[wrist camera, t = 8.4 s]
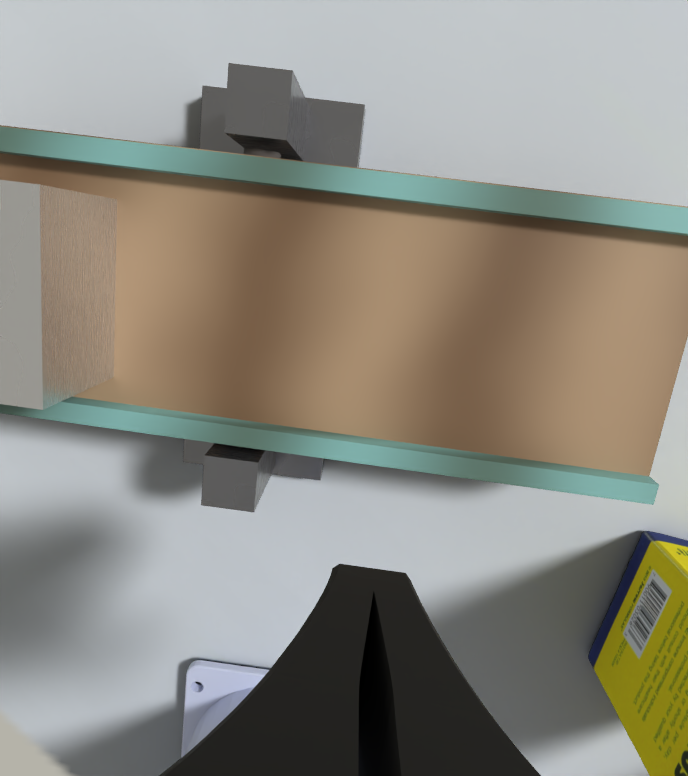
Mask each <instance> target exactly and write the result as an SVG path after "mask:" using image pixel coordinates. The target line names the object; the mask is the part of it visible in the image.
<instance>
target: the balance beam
mask: <svg viewBox="0 0 688 776" xmlns="http://www.w3.org/2000/svg"><path fill="white" fill-rule="evenodd" d="M0 180H7V181H15V182H23V183H31V184H40V185H45V186H50V187H55V188H60V189H66V190H71V191H76V192H81V193H86V194H92V195H97V196H102V197H107V198H112V199H117V236H116V290H115V345H114V377H113V378H111V379H109V380H106V381H104V382H102V383H100V384H98V385H96V386H94V387H91V388H89V389H87V390H85V391H83V392H81V393H78V394H76V395H74V396H72V397H70V398H68V399H65V400H63V401H61V402H59V403H57V404H55V405H53V406H50V407H48V408H46V409H44V410H40V409H32V408H25V407H18V406H11V405H4V404H0V413H4V414H11V415H18V416H25V417H32V418H39V419H47V420H54V421H61V422H68V423H75V424H82V425H89V426H96V427H104V428H111V429H118V430H125V431H132V432H139V433H146V434H153V435H161V436H168V437H175V438H182V439H189V440H196V441H203V442H210V443H218V444H225V445H230V446H234V447H246V448H253V449H260V450H267V451H275V452H282V453H289V454H296V455H303V456H310V457H317V458H324V459H332V460H339V461H346V462H353V463H360V464H367V465H374V466H381V467H389V468H396V469H403V470H410V471H417V472H424V473H431V474H438V475H446V476H453V477H460V478H467V479H474V480H481V481H488V482H495V483H503V484H510V485H517V486H524V487H531V488H538V489H545V490H552V491H560V492H567V493H574V494H581V495H588V496H595V497H602V498H610V499H617V500H624V501H631V502H638V503H645V504H652V505H653V504H654V501H655V497H656V494H657V490H658V487H659V484H657V483H656V482H655V481H654V480H653V479H652V478H650V477H649V475H650V471H651V467H652V464H653V460H654V456H655V453H656V449H657V446H658V442H659V438H660V435H661V431H662V427H663V424H664V420H665V417H666V413H667V409H668V406H669V402H670V398H671V395H672V391H673V388H674V384H675V380H676V377H677V373H678V369H679V366H680V362H681V358H682V355H683V351H684V348H685V344H686V340H687V337H688V207H686V206H677V205H669V204H661V203H652V202H644V201H635V200H627V199H618V198H610V197H601V196H593V195H584V194H576V193H568V192H559V191H551V190H542V189H534V188H525V187H517V186H508V185H500V184H492V183H483V182H475V181H466V180H458V179H449V178H441V177H432V176H424V175H415V174H407V173H399V172H390V171H382V170H373V169H365V168H356V167H348V166H339V165H331V164H323V163H314V162H306V161H297V160H289V159H281V154H280V153H278V152H275V151H271V150H266V149H260V148H244V154H238V153H230V152H221V151H213V150H204V149H196V148H187V147H179V146H170V145H162V144H154V143H145V142H137V141H128V140H120V139H111V138H103V137H94V136H86V135H78V134H69V133H61V132H52V131H44V130H35V129H27V128H18V127H10V126H1V125H0Z"/></svg>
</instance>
